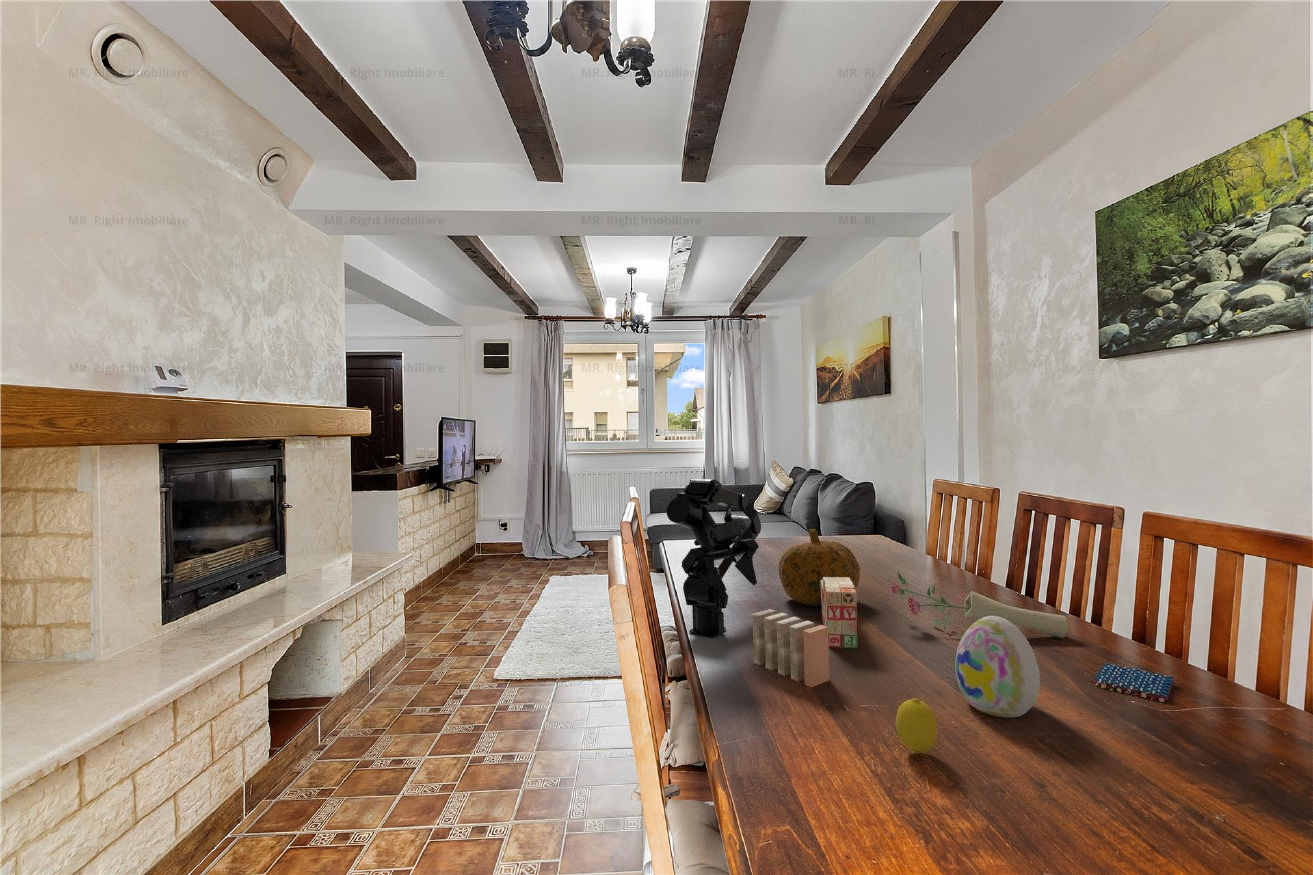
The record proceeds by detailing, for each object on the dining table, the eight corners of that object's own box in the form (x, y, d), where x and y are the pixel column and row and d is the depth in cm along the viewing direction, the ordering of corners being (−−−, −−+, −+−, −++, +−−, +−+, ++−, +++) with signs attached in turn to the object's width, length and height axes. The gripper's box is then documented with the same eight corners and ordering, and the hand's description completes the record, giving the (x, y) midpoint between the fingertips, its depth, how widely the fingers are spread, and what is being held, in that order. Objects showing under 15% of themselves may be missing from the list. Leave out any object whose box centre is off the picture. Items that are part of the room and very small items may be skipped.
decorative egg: (939, 699, 104) (937, 612, 104) (989, 685, 109) (987, 602, 108) (1005, 731, 93) (1003, 633, 92) (1058, 713, 97) (1056, 621, 97)
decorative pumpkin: (874, 608, 152) (864, 528, 153) (791, 617, 153) (782, 538, 153) (850, 589, 173) (841, 520, 173) (777, 598, 173) (768, 528, 174)
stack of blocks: (821, 616, 150) (819, 567, 150) (847, 617, 149) (846, 567, 149) (827, 647, 129) (826, 590, 129) (858, 649, 128) (856, 591, 128)
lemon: (935, 746, 89) (934, 692, 89) (940, 766, 84) (938, 709, 84) (895, 741, 91) (894, 688, 91) (897, 760, 86) (895, 704, 85)
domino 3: (778, 673, 117) (776, 621, 116) (795, 666, 120) (794, 616, 119) (784, 676, 115) (782, 623, 115) (802, 669, 118) (800, 618, 118)
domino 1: (753, 663, 122) (752, 613, 122) (771, 657, 125) (770, 608, 125) (759, 665, 121) (758, 615, 121) (777, 659, 124) (775, 610, 124)
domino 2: (765, 668, 119) (764, 617, 119) (783, 661, 122) (782, 612, 122) (771, 670, 118) (770, 619, 118) (789, 664, 121) (788, 614, 121)
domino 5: (804, 684, 111) (803, 630, 111) (822, 677, 114) (821, 624, 114) (811, 687, 110) (810, 632, 110) (829, 680, 113) (828, 626, 113)
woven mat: (1101, 670, 115) (1101, 660, 114) (1175, 686, 107) (1175, 675, 107) (1089, 688, 107) (1089, 677, 107) (1168, 707, 100) (1167, 695, 100)
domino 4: (791, 678, 114) (789, 626, 114) (808, 671, 117) (807, 620, 117) (797, 681, 113) (796, 628, 113) (815, 674, 116) (814, 622, 115)
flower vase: (1057, 677, 128) (886, 632, 136) (1040, 641, 139) (883, 602, 147) (1077, 632, 124) (899, 589, 132) (1058, 598, 135) (895, 560, 143)
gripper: (688, 510, 127) (726, 572, 118) (752, 503, 138) (790, 558, 129) (666, 543, 134) (700, 603, 125) (728, 533, 145) (763, 588, 136)
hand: (740, 587), depth 128 cm, fingers open, 9 cm apart
